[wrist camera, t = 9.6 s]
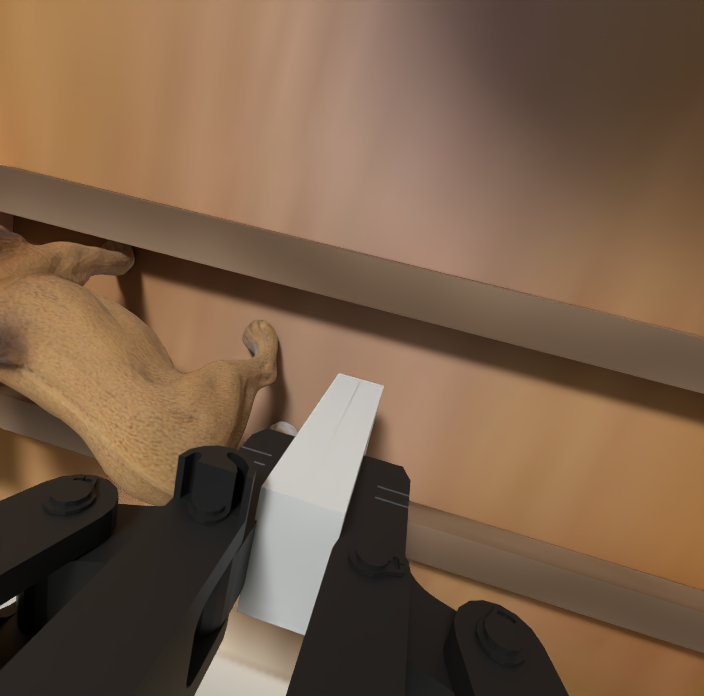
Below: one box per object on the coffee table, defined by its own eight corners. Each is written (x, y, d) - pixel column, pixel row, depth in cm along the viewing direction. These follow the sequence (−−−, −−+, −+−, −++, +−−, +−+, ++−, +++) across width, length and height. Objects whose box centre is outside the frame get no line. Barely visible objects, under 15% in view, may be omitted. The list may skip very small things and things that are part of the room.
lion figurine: (10, 319, 17) (-415, 396, 8) (31, 190, 16) (-459, 122, 7) (339, 475, 16) (239, 738, 8) (395, 353, 15) (351, 509, 6)
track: (-34, 155, 16) (-182, 126, 12) (910, 388, 12) (1129, 452, 9) (-29, 398, 18) (-149, 439, 15) (747, 643, 15) (857, 778, 11)
